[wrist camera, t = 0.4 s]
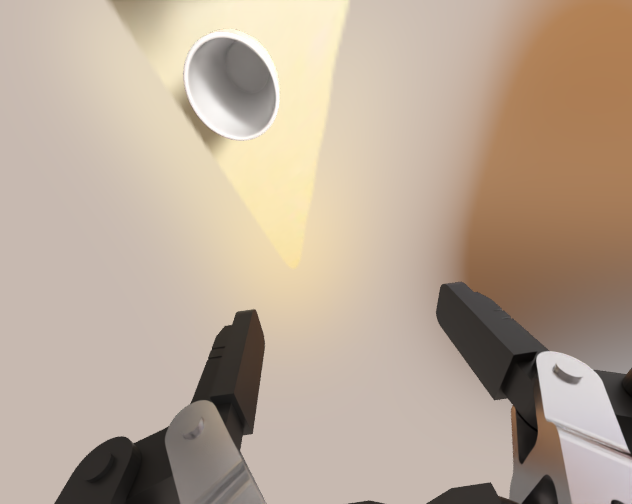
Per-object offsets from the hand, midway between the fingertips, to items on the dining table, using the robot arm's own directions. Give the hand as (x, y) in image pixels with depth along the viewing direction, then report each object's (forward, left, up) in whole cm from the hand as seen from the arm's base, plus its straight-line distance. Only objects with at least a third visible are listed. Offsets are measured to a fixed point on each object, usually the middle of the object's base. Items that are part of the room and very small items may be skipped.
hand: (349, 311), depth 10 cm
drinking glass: (-8, 0, -31) cm, 32 cm away
